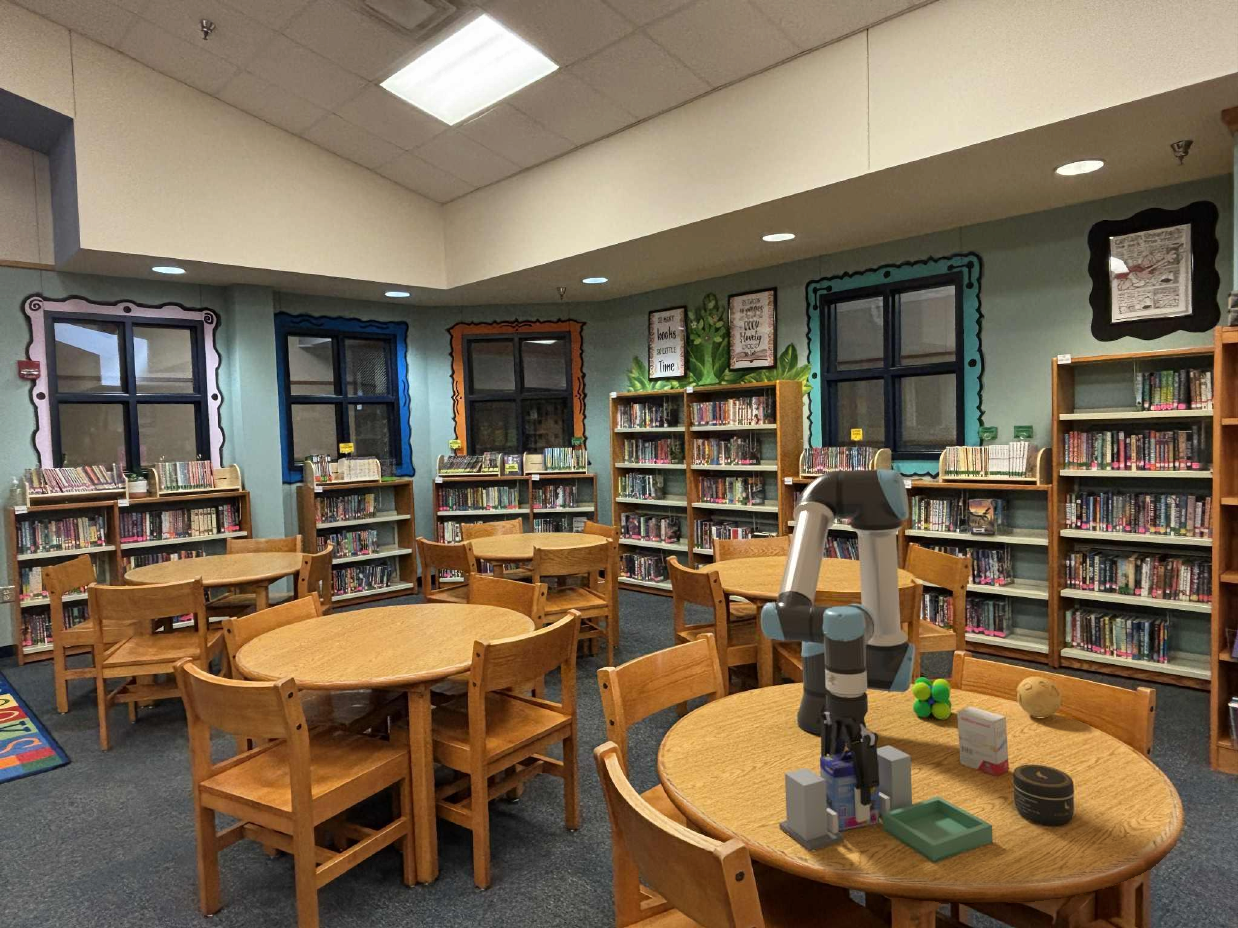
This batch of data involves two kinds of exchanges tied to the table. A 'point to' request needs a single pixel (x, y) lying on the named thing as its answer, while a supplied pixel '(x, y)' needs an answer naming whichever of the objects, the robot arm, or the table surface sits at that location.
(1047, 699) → the stress ball
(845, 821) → the ink cartridge box
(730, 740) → the table surface
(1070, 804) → the jar
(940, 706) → the molecule model
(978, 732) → the ink box
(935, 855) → the tray
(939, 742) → the table surface
